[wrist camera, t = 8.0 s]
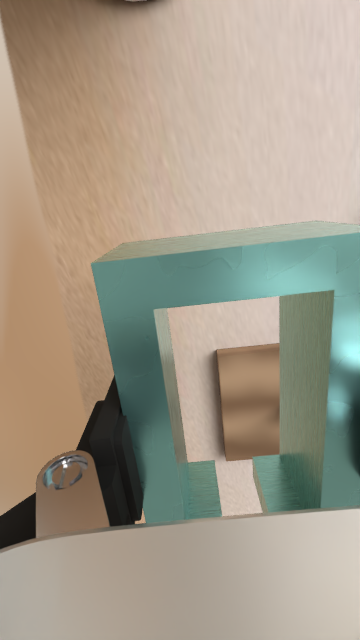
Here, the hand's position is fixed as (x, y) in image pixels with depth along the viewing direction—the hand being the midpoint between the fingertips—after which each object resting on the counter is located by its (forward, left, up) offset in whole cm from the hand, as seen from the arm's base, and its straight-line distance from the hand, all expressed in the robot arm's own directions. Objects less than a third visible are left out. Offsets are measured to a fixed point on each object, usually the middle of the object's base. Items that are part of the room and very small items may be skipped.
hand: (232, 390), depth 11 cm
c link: (0, 0, -1) cm, 1 cm away
